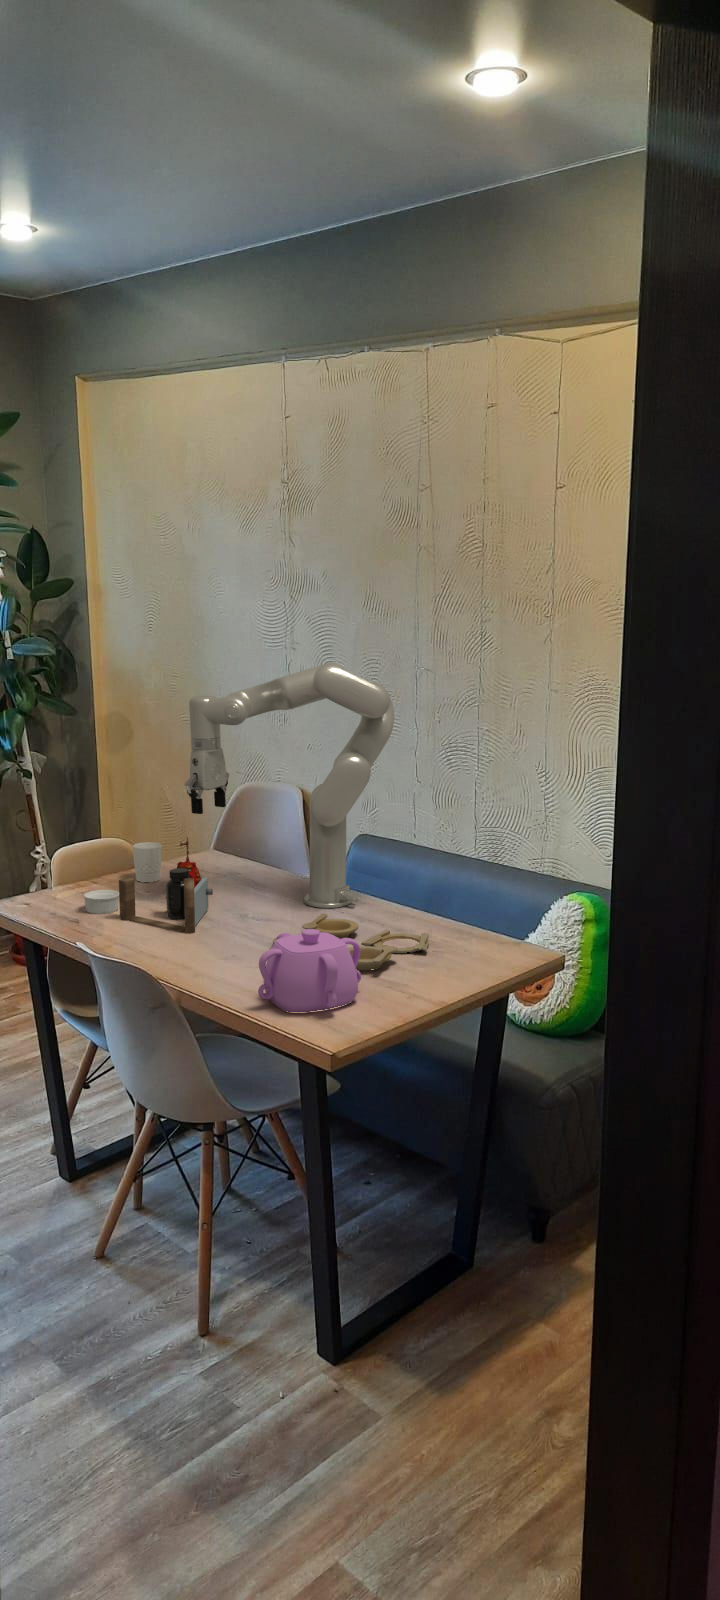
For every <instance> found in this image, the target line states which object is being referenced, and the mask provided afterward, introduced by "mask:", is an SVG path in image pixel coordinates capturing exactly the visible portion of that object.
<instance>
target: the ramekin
mask: <svg viewBox="0 0 720 1600" xmlns="http://www.w3.org/2000/svg"><path fill="white" fill-rule="evenodd" d="M83 898H84V904H85V910H86V912H87V913H89V914H92V913H93V915H107V914H111V912H112V913H114V912H116V911H117V910H119V891H116V890H113V889H97V890H96V889H95V890H92V891H87V892H85V893H84V894H83ZM106 913H107V914H106Z"/></svg>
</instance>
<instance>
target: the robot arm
mask: <svg viewBox="0 0 720 1600" xmlns="http://www.w3.org/2000/svg"><path fill="white" fill-rule="evenodd" d="M326 699H327V700H329V701H331V702H333V703H335V704H336V705H339V706H341V707H343V708H345V709H348V710H350V711H351V712H353V713H356V714H357V715H360V716H361V718H360V722H359V723H358V726H357V727H356V728H355V730H354V732H353V734H352V735H351V737H350V738H349V740H348V742H346V745H345V746H344V747H343V748H342V750H341V751H340V753H339V754H338V755H337V756H336V757H335V760H334V762H333V764H332V769H331V770H330V772H329V773H328V774H327V776H326V778H325V780H323V782H322V783H320V784H318V785H317V786H316V787H315V788H314V789H313V790H312V792H311V793H310V795H309V796H310V797H309V808H308V809H309V893H308V894H306V895H305V896H304V897H303V902H304V904H306V905H307V906H310V907H315V908H323V909H324V908H325V909H333V908H334V909H335V908H341V907H346V906H348V905H350V904H351V903H352V902H356V901H357V899H358V891H351V890H350V885H348V884H347V816H348V814H349V813H350V812H351V810H352V809H353V806H354V805H355V804H356V802H357V800H358V799H359V798H360V796H361V794H362V793H363V792H364V790H365V788H366V787H367V786H368V783H369V781H370V779H371V776H372V775H371V773H372V772H371V771H372V770H371V769H372V768H373V765H374V764H375V762H376V760H377V759H378V757H379V756H380V754H381V752H382V751H383V749H384V748H385V747H386V744H387V743H388V741H389V739H390V737H391V735H392V733H393V729H394V725H395V709H394V708H395V707H394V704H393V701H392V699H391V696H390V694H389V692H388V690H387V688H386V687H385V686H384V685H383V684H382V683H380V682H377V681H369V680H366V679H364V678H362V677H361V676H358V675H357V674H355V673H353V672H351V671H349V670H346V669H345V668H344V667H343V666H342V665H341V664H340V663H337V662H327V663H323V664H320V665H316V666H314V667H310V668H306V669H303V670H301V671H297V672H294V673H291V674H287V675H283V676H281V677H277V678H275V679H273V680H270V681H267V682H264V683H260V684H257V685H254V686H251V687H248V688H244V689H241V690H238V691H237V690H236V691H234V692H231V693H230V694H228V695H226V696H222V697H216V696H214V695H197V696H196V695H195V696H193V697H191V698H190V699H189V701H188V705H189V707H188V710H189V711H188V712H189V727H190V728H189V731H190V743H191V744H190V748H191V752H190V758H189V760H190V761H189V778H188V779H187V780H186V782H184V787H185V789H186V793H187V795H188V797H189V798H190V802H191V804H190V807H191V813H192V814H195V815H202V814H204V806H203V802H204V801H203V798H202V794H203V792H204V791H210V790H215V791H214V792H213V796H214V797H213V798H214V806H215V807H216V808H226V806H227V803H226V800H227V799H226V792H227V790H228V789H227V787H228V785H229V779H230V773H229V772H228V771H227V767H226V760H225V755H224V750H223V748H222V743H221V742H222V740H221V725H226V726H238V725H240V724H242V723H244V722H245V720H247V719H249V718H252V717H255V716H259V715H261V714H265V713H269V712H270V713H271V712H274V711H288V710H294V709H296V708H301V707H303V706H306V705H308V704H309V705H310V704H313V703H316V702H320V701H322V700H326Z"/></svg>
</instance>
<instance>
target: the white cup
mask: <svg viewBox="0 0 720 1600" xmlns="http://www.w3.org/2000/svg"><path fill="white" fill-rule="evenodd" d="M132 851H133V852H132V853H133V865H134V866H133V867H134V871H135V873H134V875H135V880H136V882H138V881H140V882H139V883H144V882H149V883H153V882H152V881H156V880H159V879H160V880H161V869H162V844H161V843H159V842H155V841H154V842H153V841H151V842H150V841H149V842H147V841H146V842H139V843H135V844H133V845H132ZM160 880H159V881H160ZM156 882H157V881H156Z"/></svg>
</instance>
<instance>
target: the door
mask: <svg viewBox="0 0 720 1600" xmlns="http://www.w3.org/2000/svg"><path fill="white" fill-rule="evenodd" d="M213 894H214V888H209V878H208V877H201V881H200V882H199V883H198V884H197V886H196V887H195V888H194V900H195V927H196V926H197V925H198V923H199V922H200V920H201V919H202V918H203V916H204V915H205V913H206V912H207V911H208V909H209V896H212V895H213Z"/></svg>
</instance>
